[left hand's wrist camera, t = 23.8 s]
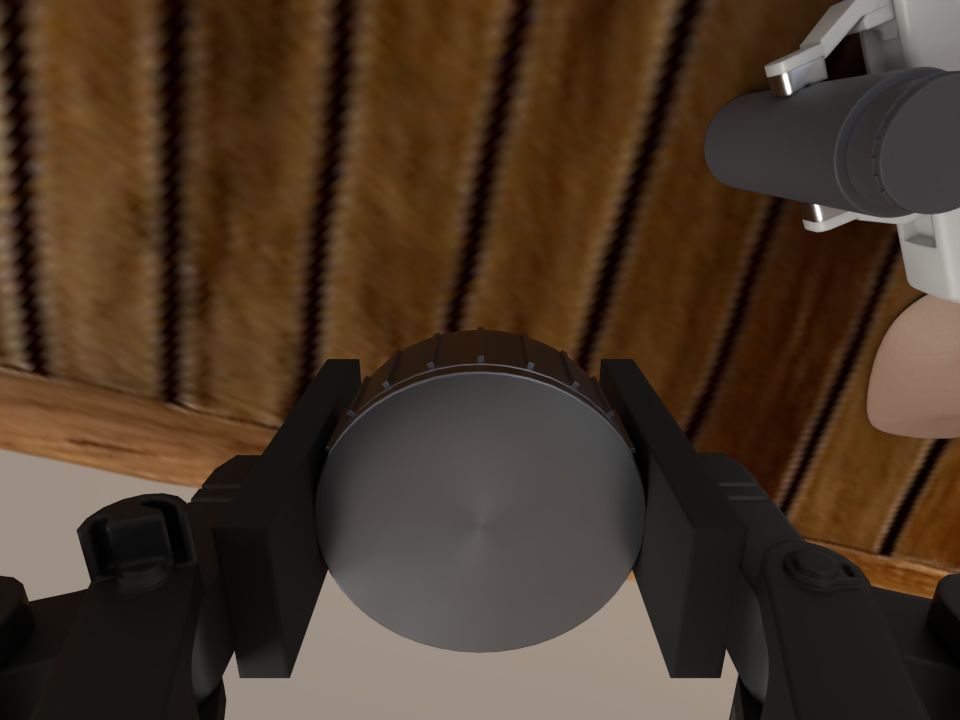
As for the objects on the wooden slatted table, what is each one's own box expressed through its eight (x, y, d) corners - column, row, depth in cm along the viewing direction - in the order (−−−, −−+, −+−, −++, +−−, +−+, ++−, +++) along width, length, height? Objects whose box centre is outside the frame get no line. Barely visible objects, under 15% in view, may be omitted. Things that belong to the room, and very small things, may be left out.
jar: (757, 71, 32) (978, 20, 18) (812, 139, 33) (1060, 143, 19) (685, 143, 33) (837, 150, 19) (740, 207, 34) (922, 256, 20)
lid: (590, 589, 14) (609, 671, 11) (329, 558, 13) (301, 636, 11) (654, 349, 12) (692, 395, 9) (347, 305, 11) (317, 343, 9)
